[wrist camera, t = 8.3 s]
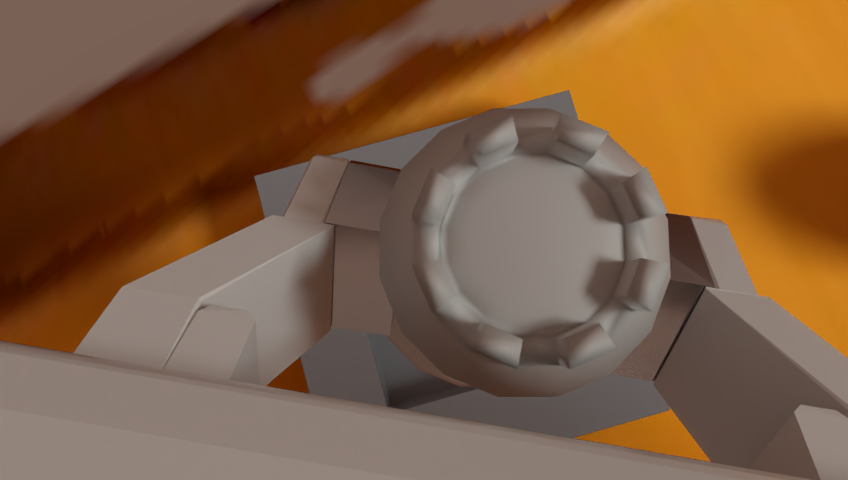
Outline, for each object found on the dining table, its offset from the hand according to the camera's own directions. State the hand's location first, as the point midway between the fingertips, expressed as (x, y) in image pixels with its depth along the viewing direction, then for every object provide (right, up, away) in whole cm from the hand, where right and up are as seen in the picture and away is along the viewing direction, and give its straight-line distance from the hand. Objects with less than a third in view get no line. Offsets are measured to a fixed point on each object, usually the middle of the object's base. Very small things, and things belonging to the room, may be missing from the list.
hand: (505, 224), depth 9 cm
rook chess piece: (0, -1, +5) cm, 5 cm away
